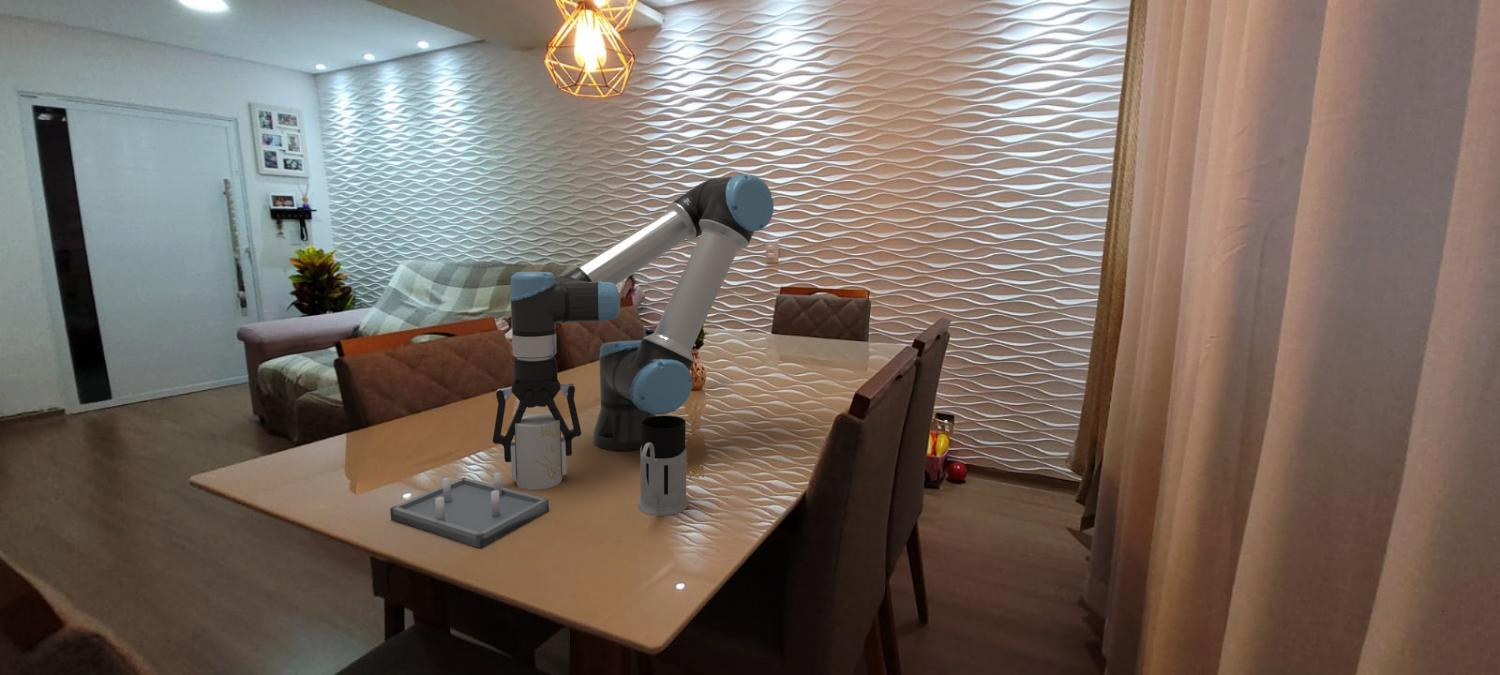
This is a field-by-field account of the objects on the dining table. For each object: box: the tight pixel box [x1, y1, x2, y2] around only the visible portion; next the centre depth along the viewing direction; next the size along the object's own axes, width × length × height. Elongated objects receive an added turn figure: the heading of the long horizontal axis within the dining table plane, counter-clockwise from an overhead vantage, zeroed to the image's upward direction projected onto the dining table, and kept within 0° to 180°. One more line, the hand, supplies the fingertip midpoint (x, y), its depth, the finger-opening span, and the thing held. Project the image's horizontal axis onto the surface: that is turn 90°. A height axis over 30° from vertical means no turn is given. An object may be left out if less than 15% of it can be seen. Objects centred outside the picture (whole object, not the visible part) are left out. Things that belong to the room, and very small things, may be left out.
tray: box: [389, 471, 550, 549], centre depth 97 cm, size 20×14×5 cm
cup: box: [514, 413, 563, 491], centre depth 110 cm, size 8×8×12 cm
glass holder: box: [637, 415, 690, 517], centre depth 99 cm, size 9×14×15 cm, turn 169°
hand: (539, 474), depth 111 cm, fingers closed on cup, 8 cm apart
